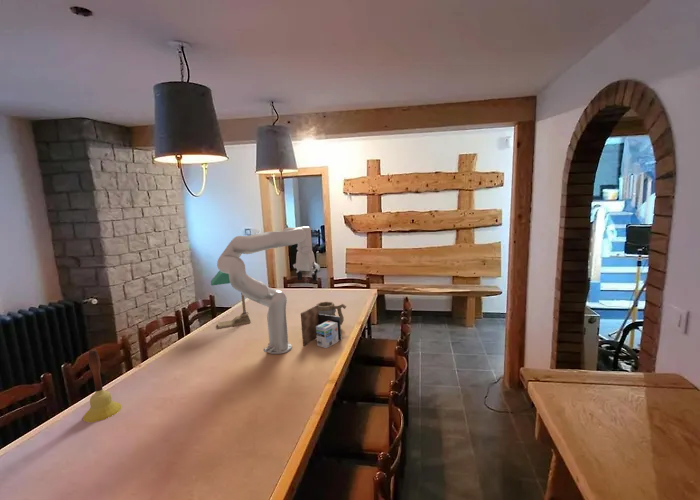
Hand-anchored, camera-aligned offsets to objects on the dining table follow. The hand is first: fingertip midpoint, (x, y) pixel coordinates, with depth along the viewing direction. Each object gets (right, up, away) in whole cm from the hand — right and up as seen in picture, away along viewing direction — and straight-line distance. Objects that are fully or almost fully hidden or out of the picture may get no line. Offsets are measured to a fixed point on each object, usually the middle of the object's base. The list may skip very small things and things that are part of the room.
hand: (307, 280), depth 196 cm
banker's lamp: (-51, -31, +33) cm, 68 cm away
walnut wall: (+3, -33, -1) cm, 33 cm away
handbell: (-71, -45, -59) cm, 103 cm away
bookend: (+13, -32, +2) cm, 34 cm away
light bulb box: (+12, -33, -5) cm, 36 cm away
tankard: (+13, -30, +18) cm, 37 cm away
